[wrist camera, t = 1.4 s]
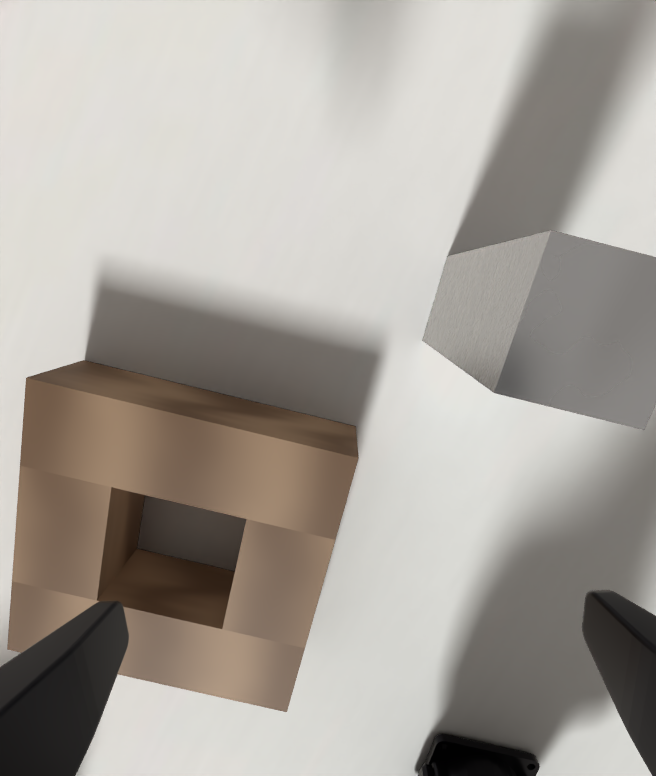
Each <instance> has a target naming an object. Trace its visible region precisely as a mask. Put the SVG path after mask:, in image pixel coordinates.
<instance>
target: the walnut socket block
mask: <svg viewBox="0 0 656 776" xmlns="http://www.w3.org/2000/svg"><path fill="white" fill-rule="evenodd" d="M357 462H358V447H357V436H356V426H352V425H348V424H344V423H340V422H335V421H331V420H327V419H323V418H319V417H315V416H311V415H307V414H303V413H298V412H294V411H290V410H286V409H282V408H278V407H274V406H270V405H266V404H261V403H257V402H253V401H249V400H245V399H241V398H237V397H233V396H229V395H224V394H220V393H216V392H212V391H208V390H204V389H200V388H196V387H192V386H187V385H183V384H179V383H175V382H171V381H167V380H163V379H159V378H155V377H150V376H146V375H142V374H138V373H134V372H130V371H126V370H122V369H118V368H113V367H109V366H105V365H101V364H97V363H93V362H89V361H85V360H83V361H80V362H77V363H73V364H70V365H67V366H63V367H60V368H57V369H54V370H50V371H47V372H44V373H40V374H37V375H34V376H30V377H27V378H26V388H25V402H24V417H23V431H22V445H21V460H20V474H19V489H18V503H17V518H16V532H15V546H14V561H13V575H12V590H11V604H10V619H9V633H8V648H7V649H8V650H12V651H17V652H21V653H22V652H24V651H25V650H27V649H28V648H30V647H31V646H33V645H34V644H36V643H37V642H39V641H40V640H42V639H43V638H45V637H46V636H47V635H49V634H50V633H52V632H53V631H55V630H56V629H58V628H59V627H61V626H62V625H64V624H65V623H67V622H68V621H70V620H71V619H73V618H74V617H76V616H77V615H79V614H80V613H82V612H83V611H85V610H86V609H88V608H89V607H91V606H92V605H94V604H95V603H97V602H99V601H120V602H121V603H122V605H123V608H124V612H125V617H126V622H127V627H128V632H129V642H128V647H127V650H126V653H125V655H124V658H123V661H122V663H121V666H120V669H119V671H118V674H119V675H123V676H128V677H132V678H137V679H141V680H146V681H150V682H155V683H159V684H164V685H168V686H172V687H177V688H181V689H186V690H190V691H195V692H199V693H204V694H208V695H213V696H217V697H221V698H226V699H230V700H235V701H239V702H244V703H248V704H253V705H257V706H262V707H266V708H271V709H275V710H279V711H284V712H287V709H288V706H289V702H290V699H291V695H292V692H293V688H294V685H295V681H296V678H297V674H298V670H299V667H300V663H301V660H302V656H303V653H304V649H305V646H306V642H307V639H308V635H309V631H310V628H311V624H312V621H313V617H314V614H315V610H316V607H317V603H318V600H319V596H320V593H321V589H322V585H323V582H324V578H325V575H326V571H327V568H328V564H329V561H330V557H331V554H332V550H333V547H334V543H335V539H336V536H337V532H338V529H339V525H340V522H341V518H342V515H343V511H344V508H345V504H346V501H347V497H348V493H349V490H350V486H351V483H352V479H353V476H354V472H355V469H356V465H357ZM145 495H147V496H151V497H155V498H159V499H164V500H168V501H172V502H176V503H181V504H185V505H189V506H193V507H198V508H202V509H206V510H210V511H215V512H219V513H223V514H227V515H232V516H236V517H240V518H244V519H246V524H245V528H244V533H243V537H242V542H241V546H240V551H239V555H238V560H237V565H236V569H235V571H231V570H226V569H222V568H218V567H213V566H209V565H205V564H200V563H196V562H192V561H188V560H183V559H179V558H175V557H170V556H166V555H162V554H157V553H153V552H149V551H145V550H140V549H137V545H138V538H139V531H140V525H141V518H142V512H143V505H144V498H145Z"/></svg>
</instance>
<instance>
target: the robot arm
mask: <svg viewBox="0 0 656 776" xmlns="http://www.w3.org/2000/svg"><path fill="white" fill-rule="evenodd" d="M582 631H583V636H584V639H585V641H586V644H587V646H588V648H589V650H590V652H591V654H592V657H593V659H594V661H595V663H596V665H597V667H598V670H599V672H600V674H601V676H602V678H603V680H604V683H605V685H606V687H607V689H608V691H609V693H610V696H611V698H612V700H613V702H614V704H615V706H616V709H617V711H618V713H619V715H620V717H621V719H622V721H623V723H624V725H625V727H626V729H627V731H628V733H629V735H630V737H631V739H632V741H633V742H634V744H635V746H636V748H637V750H638V751H639V753H640V755H641V757H642V758H643V760H644V762H645V764H646V765H647V767H648V769H649V771H650V772H651V774H652V776H656V616H655V615H653V614H652V613H650V612H648V611H646V610H645V609H643V608H641V607H639V606H638V605H636V604H634V603H633V602H631V601H629V600H627V599H626V598H624V597H622V596H621V595H619V594H617V593H615V592H613V591H610V590H592V591H589V592H588V593H587V594H586V598H585V606H584V614H583V623H582ZM128 642H129V632H128V627H127V622H126V617H125V612H124V608H123V605H122V603H121V602H120V601H99V602H97V603H95V604H94V605H92V606H91V607H89V608H88V609H86V610H85V611H83V612H82V613H80V614H79V615H77V616H76V617H74V618H73V619H71V620H70V621H68V622H67V623H65V624H64V625H62V626H61V627H59V628H58V629H56V630H55V631H53V632H52V633H50V634H49V635H47V636H46V637H45V638H43V639H42V640H40V641H39V642H37V643H36V644H34V645H33V646H31V647H30V648H28V649H27V650H25V651H24V652H22V653H21V654H19V655H18V656H16V657H15V658H13V659H12V660H10V661H9V662H7V663H6V664H4V665H3V666H1V667H0V776H75V775H76V773H77V771H78V769H79V767H80V765H81V763H82V760H83V758H84V756H85V754H86V752H87V750H88V748H89V745H90V743H91V741H92V739H93V737H94V734H95V732H96V729H97V727H98V724H99V722H100V719H101V717H102V714H103V711H104V709H105V706H106V703H107V701H108V698H109V695H110V693H111V690H112V687H113V685H114V682H115V679H116V677H117V674H118V671H119V669H120V666H121V663H122V661H123V658H124V655H125V653H126V650H127V647H128ZM539 767H540V766H539V763H538V760H537V758H536V756H535V755H533V754H530V753H526V752H521V751H517V750H512V749H508V748H503V747H499V746H495V745H490V744H486V743H481V742H477V741H472V740H468V739H463V738H459V737H455V736H450V735H446V734H440V735H438V736H436V737H435V739H434V741H433V744H432V746H431V749H430V751H429V754H428V756H427V759H426V761H425V763H424V765H423V766H422V767H421V769H420V771H419V774H418V776H536V774H537V772H538V770H539Z"/></svg>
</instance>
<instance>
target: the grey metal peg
mask: <svg viewBox="0 0 656 776" xmlns="http://www.w3.org/2000/svg"><path fill="white" fill-rule="evenodd" d="M422 341H424V342H425V343H426V344H428V345H429V346H430V347H432V348H433V349H434V350H436V351H437V352H439V353H440V354H441V355H443V356H444V357H445V358H447V359H448V360H450V361H451V362H452V363H454V364H455V365H456V366H458V367H459V368H461V369H462V370H463V371H465V372H466V373H467V374H469V375H470V376H472V377H473V378H474V379H476V380H477V381H478V382H480V383H481V384H482V385H484V386H485V387H487V388H488V389H489V390H491V391H492V392H493V393H497V394H501V395H505V396H509V397H513V398H517V399H521V400H525V401H529V402H533V403H537V404H541V405H545V406H549V407H553V408H557V409H561V410H565V411H569V412H573V413H577V414H582V415H586V416H590V417H594V418H598V419H602V420H606V421H610V422H614V423H618V424H622V425H626V426H630V427H634V428H638V429H642V430H644V429H645V427H646V425H647V422H648V420H649V418H650V416H651V414H652V411H653V409H654V407H655V405H656V257H653V256H649V255H645V254H641V253H637V252H634V251H630V250H626V249H622V248H618V247H614V246H610V245H606V244H603V243H599V242H595V241H591V240H587V239H583V238H579V237H576V236H572V235H568V234H564V233H560V232H556V231H552V230H550V231H546V232H542V233H538V234H534V235H530V236H526V237H522V238H518V239H514V240H510V241H506V242H502V243H498V244H494V245H490V246H486V247H482V248H478V249H474V250H470V251H466V252H462V253H458V254H454V255H450V256H447V260H446V263H445V266H444V270H443V273H442V276H441V280H440V283H439V286H438V290H437V293H436V296H435V300H434V303H433V306H432V310H431V313H430V316H429V320H428V323H427V326H426V330H425V333H424V336H423V340H422Z"/></svg>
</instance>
